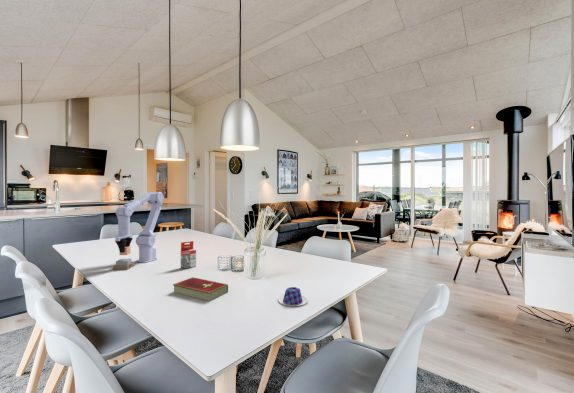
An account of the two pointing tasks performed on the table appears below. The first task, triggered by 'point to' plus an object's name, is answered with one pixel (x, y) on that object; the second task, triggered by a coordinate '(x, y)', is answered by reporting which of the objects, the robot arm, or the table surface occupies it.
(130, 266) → the base block
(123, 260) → the top block
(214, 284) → the hardcover book
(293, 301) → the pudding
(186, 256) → the ink box
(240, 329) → the table surface
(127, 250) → the cube
